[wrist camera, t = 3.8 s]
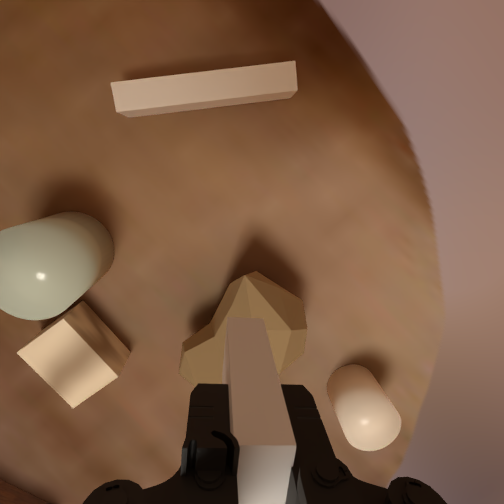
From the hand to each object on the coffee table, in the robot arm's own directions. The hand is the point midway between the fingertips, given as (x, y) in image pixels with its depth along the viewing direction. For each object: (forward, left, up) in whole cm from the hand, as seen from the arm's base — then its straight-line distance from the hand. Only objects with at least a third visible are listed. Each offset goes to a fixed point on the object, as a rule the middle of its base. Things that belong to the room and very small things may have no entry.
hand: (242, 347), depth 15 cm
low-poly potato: (+9, -3, -25) cm, 26 cm away
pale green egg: (-5, -16, -24) cm, 30 cm away
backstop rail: (-14, +3, -24) cm, 28 cm away
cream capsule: (+23, +6, -24) cm, 34 cm away
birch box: (+5, -20, -25) cm, 32 cm away
